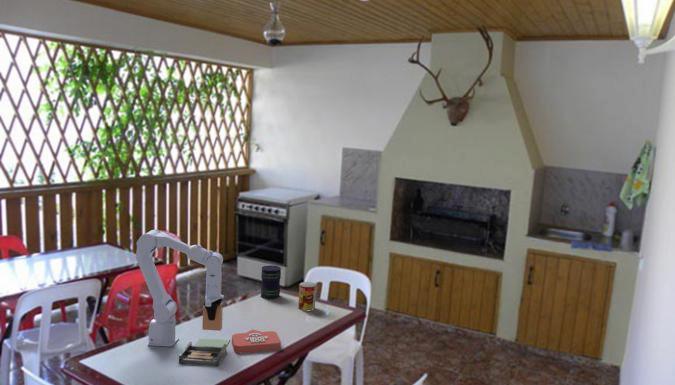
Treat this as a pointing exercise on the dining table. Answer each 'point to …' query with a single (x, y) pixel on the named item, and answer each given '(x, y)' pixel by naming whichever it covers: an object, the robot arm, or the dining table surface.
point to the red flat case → (255, 341)
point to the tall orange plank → (215, 323)
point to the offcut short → (201, 354)
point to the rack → (217, 353)
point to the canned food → (307, 296)
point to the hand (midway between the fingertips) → (212, 318)
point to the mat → (212, 342)
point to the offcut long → (200, 357)
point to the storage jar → (270, 282)
